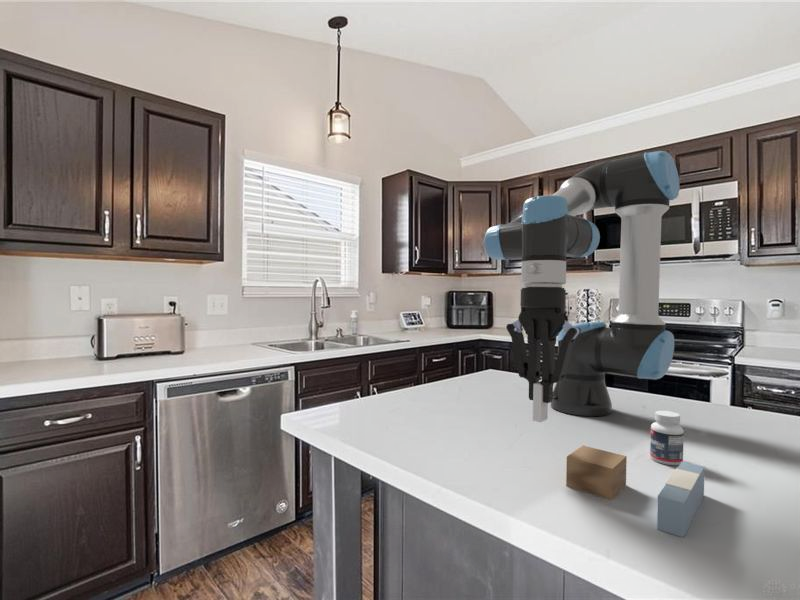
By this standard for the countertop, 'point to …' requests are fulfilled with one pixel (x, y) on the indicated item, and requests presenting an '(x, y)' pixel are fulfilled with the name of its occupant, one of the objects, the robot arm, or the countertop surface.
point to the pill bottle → (667, 438)
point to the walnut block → (596, 472)
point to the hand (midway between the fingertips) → (540, 419)
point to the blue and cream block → (680, 498)
